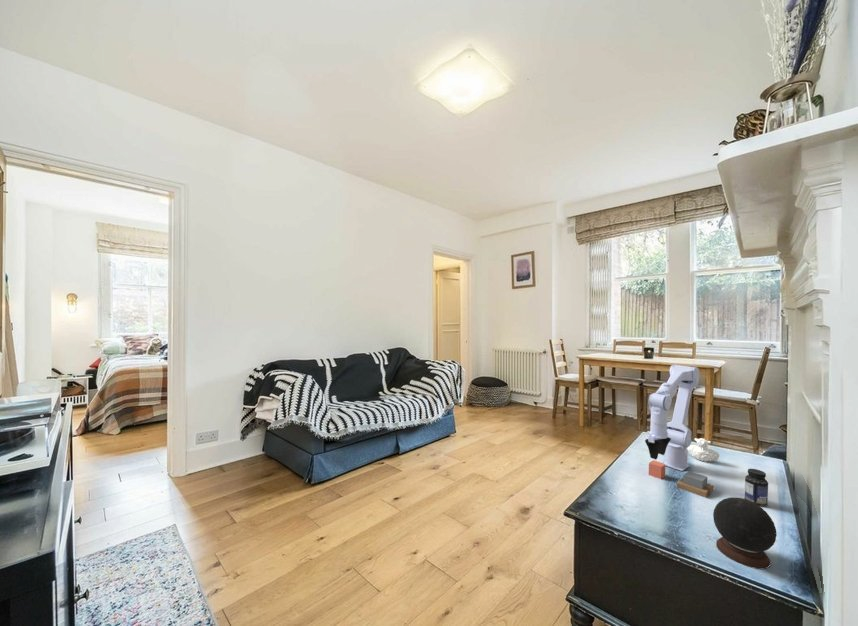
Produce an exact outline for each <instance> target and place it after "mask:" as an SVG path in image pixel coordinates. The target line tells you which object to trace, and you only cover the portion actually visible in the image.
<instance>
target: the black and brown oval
mask: <svg viewBox="0 0 858 626" xmlns="http://www.w3.org/2000/svg"><path fill="white" fill-rule="evenodd" d="M712 516H713V523H714V526H715V527H716V529H717V532H718V533H719V534H720V536H721V537H720V538H718V539H717V540H716V548H717V549H718V551H719V552H720V553H721V554H722V555H724V556H725V557H726V558H728V559H730V560H731V561H733V562H735V563H738V564H740V565H743V566H745V567H748V568H752V567H756V568H755V569H759V568H764V569H767V568H766V567H768V566H769V565H770V566H771V560H770V558H769V556H768V555H767V553H766V551H768V550H770V549H771V548H772V547H773V546H774V545H775V543H776V540H777V529H776V526H775V525H776V524H775V523H774V520H773V519H772V517H771V516H770V514H768V512H767V511H766V510H765V509H764V508H763V507H762V506H759V505H757V504H755V503H753V502H751V501H749V500H746V499H745V498H742V497H735V496H734V497H727V498H723V499H722V500H720V501H719V502H718V503H717V504H716V505H715V507H714V509H713V513H712ZM770 566H769V567H770ZM769 567H768V568H769Z"/></svg>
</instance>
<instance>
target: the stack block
mask: <svg viewBox="0 0 858 626" xmlns="http://www.w3.org/2000/svg"><path fill="white" fill-rule="evenodd" d="M666 467H667V466H666V464H664V463H663V462H659V461H657V460H655V459H653V460H652V461H650V462H648V476H651V477H654V478H657V479H659V480H662V479H663V478H665V477H666V469H667V468H666Z"/></svg>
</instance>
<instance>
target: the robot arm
mask: <svg viewBox="0 0 858 626" xmlns="http://www.w3.org/2000/svg"><path fill="white" fill-rule="evenodd" d="M700 375H701V373H700V369H699V367H697V366H688V365H679V364H675V363H673V364H672V365H670V367H669V377H668V380H667V381H666V382H663V383H662V384H660V386H659V388H658V389H657V390H656V391H655V392H653V393H651V394H649V396H648V406H649V411H650V427H649V428H650V429H649V430H648V431H646V434H649V436H648V438H646V439H645V440H644V442H645V444H646V446H647V448H648V452H649V457H650V459H653V460H658V457H659V455H662V456H665V460H664V461H663V462H662V463H664V464H666V467H669V468H672V469H674V470H677V471H681V472H684V471H685V470H686V469H687V468H689V467H690V466H691V464H688V455H689V452H688V450H687V448H688V447H689V446H690V445H692V435H693V433H692V431H691V429H690V428H689V427H688V426H687V425H686V421H687V417H688V412H689V407H690V404H691V403H690V401H691V397H692V394H693V389H695V388H698V385H699V382H700ZM677 387H678V391H677ZM676 393H677V394H676ZM675 395H676V401H675V404H674V410H673V415H672V418H671V421H669V422H668V412H669V409H671V406H672V402H673V400H672V399H673V398H674V396H675Z"/></svg>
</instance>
